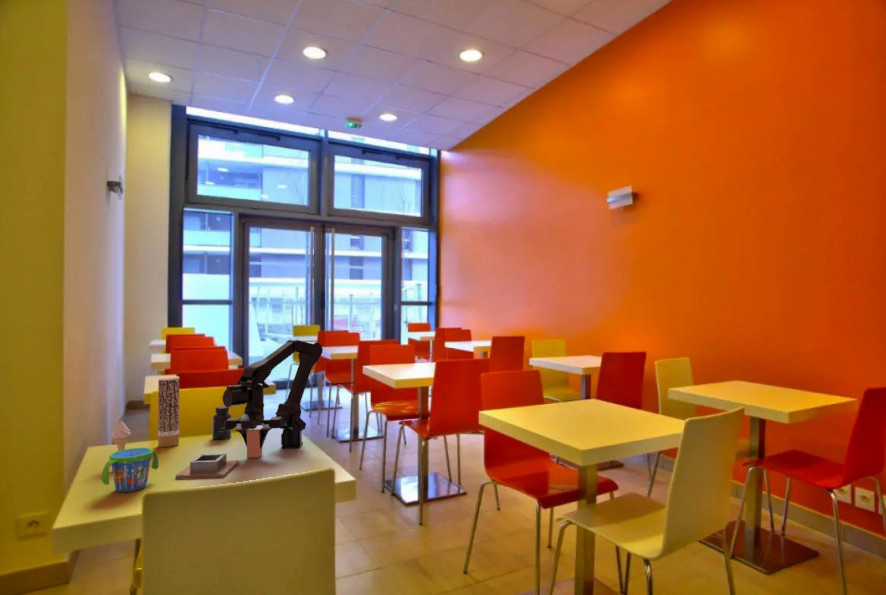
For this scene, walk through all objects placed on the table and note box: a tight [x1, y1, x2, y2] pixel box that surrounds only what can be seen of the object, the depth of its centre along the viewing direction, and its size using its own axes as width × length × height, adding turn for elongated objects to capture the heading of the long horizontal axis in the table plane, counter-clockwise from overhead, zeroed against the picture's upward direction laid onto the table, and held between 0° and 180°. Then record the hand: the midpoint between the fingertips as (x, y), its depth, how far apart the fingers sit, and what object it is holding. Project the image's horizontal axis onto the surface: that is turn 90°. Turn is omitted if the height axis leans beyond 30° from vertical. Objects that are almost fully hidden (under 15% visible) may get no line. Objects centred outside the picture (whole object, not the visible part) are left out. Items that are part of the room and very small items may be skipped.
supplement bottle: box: [211, 405, 233, 441], centre depth 198 cm, size 7×7×12 cm
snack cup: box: [101, 447, 160, 493], centre depth 144 cm, size 16×10×10 cm
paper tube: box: [157, 375, 180, 448], centre depth 188 cm, size 7×7×25 cm
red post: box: [246, 427, 263, 459], centre depth 174 cm, size 4×4×9 cm
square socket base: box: [175, 453, 240, 480], centre depth 159 cm, size 14×14×4 cm
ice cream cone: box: [110, 419, 132, 451], centre depth 164 cm, size 6×6×15 cm
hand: (254, 448), depth 174 cm, fingers closed on red post, 4 cm apart
